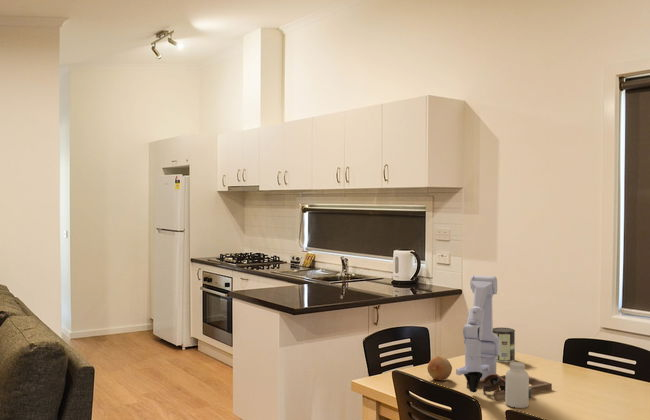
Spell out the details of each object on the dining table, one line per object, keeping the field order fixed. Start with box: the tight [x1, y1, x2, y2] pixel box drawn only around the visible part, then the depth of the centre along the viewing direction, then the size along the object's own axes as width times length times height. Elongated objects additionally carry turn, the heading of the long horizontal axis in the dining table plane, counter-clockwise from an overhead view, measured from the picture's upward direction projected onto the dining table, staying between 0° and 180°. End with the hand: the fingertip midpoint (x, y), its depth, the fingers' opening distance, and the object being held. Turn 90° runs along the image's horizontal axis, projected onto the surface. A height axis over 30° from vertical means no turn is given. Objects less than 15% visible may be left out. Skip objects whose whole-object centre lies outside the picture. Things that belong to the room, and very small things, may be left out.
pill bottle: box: [504, 361, 530, 409], centre depth 220 cm, size 8×8×15 cm
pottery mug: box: [482, 373, 506, 394], centre depth 235 cm, size 12×10×8 cm
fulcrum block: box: [528, 387, 532, 399], centre depth 230 cm, size 3×3×3 cm
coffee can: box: [493, 327, 516, 363], centre depth 284 cm, size 10×10×14 cm
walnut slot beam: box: [466, 374, 553, 401], centre depth 239 cm, size 17×28×2 cm, turn 116°
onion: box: [427, 355, 453, 381], centre depth 252 cm, size 10×10×10 cm
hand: (473, 391), depth 232 cm, fingers closed
